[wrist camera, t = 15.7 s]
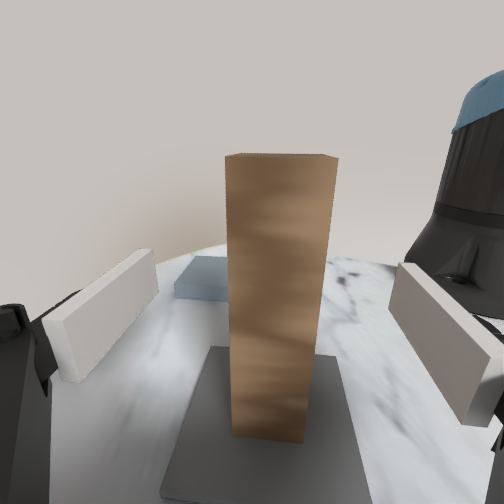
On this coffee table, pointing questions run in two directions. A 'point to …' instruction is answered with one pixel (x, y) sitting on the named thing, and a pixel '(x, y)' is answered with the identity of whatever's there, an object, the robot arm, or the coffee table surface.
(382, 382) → the coffee table surface
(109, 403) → the coffee table surface
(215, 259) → the tile
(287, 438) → the tall wooden pillar
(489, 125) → the robot arm
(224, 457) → the plate
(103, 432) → the coffee table surface
